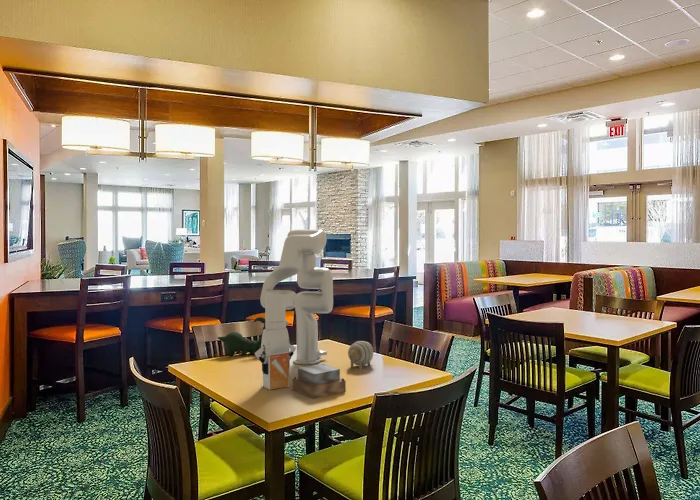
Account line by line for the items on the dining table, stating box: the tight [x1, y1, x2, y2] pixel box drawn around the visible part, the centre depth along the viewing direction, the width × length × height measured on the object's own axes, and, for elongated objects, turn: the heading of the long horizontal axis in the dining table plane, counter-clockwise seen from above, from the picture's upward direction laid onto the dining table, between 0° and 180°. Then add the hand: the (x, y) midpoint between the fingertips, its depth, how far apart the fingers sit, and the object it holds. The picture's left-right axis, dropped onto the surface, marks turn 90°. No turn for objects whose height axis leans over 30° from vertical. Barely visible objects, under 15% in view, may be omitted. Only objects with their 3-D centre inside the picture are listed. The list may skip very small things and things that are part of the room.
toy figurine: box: [217, 316, 266, 356], centre depth 247 cm, size 9×19×25 cm
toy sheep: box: [347, 340, 374, 370], centre depth 223 cm, size 11×17×11 cm, turn 153°
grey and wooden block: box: [292, 363, 347, 400], centre depth 188 cm, size 14×14×8 cm
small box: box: [262, 351, 290, 391], centre depth 193 cm, size 8×6×13 cm
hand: (276, 371), depth 193 cm, fingers closed on small box, 8 cm apart
